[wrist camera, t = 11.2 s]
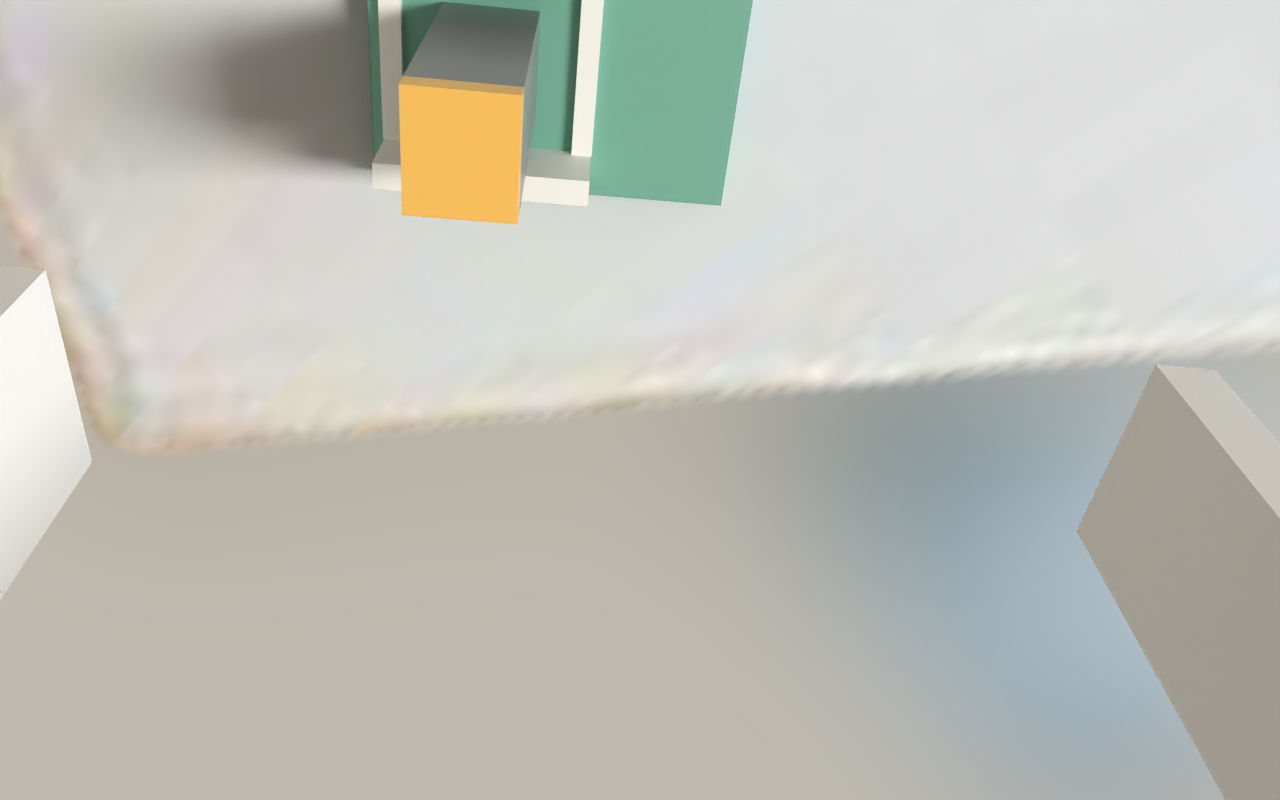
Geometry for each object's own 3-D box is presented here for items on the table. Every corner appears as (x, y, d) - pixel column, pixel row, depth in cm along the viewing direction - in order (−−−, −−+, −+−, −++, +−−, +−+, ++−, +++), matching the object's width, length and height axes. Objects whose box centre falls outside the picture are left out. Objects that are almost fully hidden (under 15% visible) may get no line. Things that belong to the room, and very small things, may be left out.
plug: (443, 1, 37) (398, 84, 29) (539, 11, 38) (522, 95, 29) (444, 124, 40) (402, 232, 32) (534, 132, 40) (516, 242, 32)
